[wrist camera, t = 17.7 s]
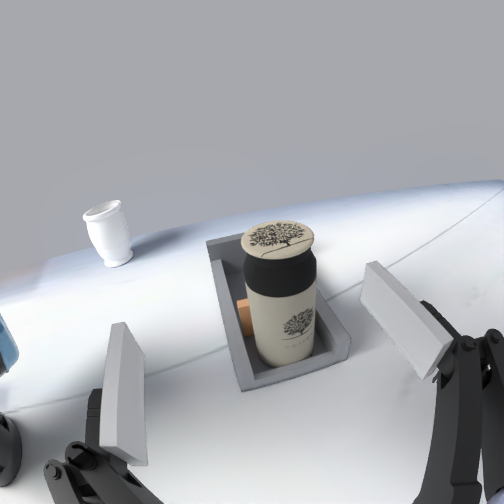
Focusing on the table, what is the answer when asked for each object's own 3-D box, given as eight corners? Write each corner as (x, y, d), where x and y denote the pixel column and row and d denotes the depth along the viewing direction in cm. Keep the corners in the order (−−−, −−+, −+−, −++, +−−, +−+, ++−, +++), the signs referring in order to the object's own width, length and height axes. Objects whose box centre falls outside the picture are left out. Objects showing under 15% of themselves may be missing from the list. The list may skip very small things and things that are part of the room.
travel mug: (251, 336, 40) (232, 228, 30) (301, 322, 41) (298, 214, 32) (265, 377, 33) (248, 265, 24) (322, 359, 34) (330, 245, 25)
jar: (137, 245, 72) (121, 196, 65) (137, 263, 64) (118, 208, 56) (104, 256, 70) (86, 208, 62) (100, 274, 61) (78, 222, 53)
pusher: (244, 336, 40) (238, 308, 36) (242, 329, 41) (236, 301, 38) (307, 319, 41) (307, 290, 38) (303, 313, 42) (303, 283, 39)
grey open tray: (241, 392, 32) (230, 357, 28) (213, 275, 56) (205, 241, 52) (346, 359, 34) (354, 320, 30) (283, 258, 58) (281, 224, 54)
